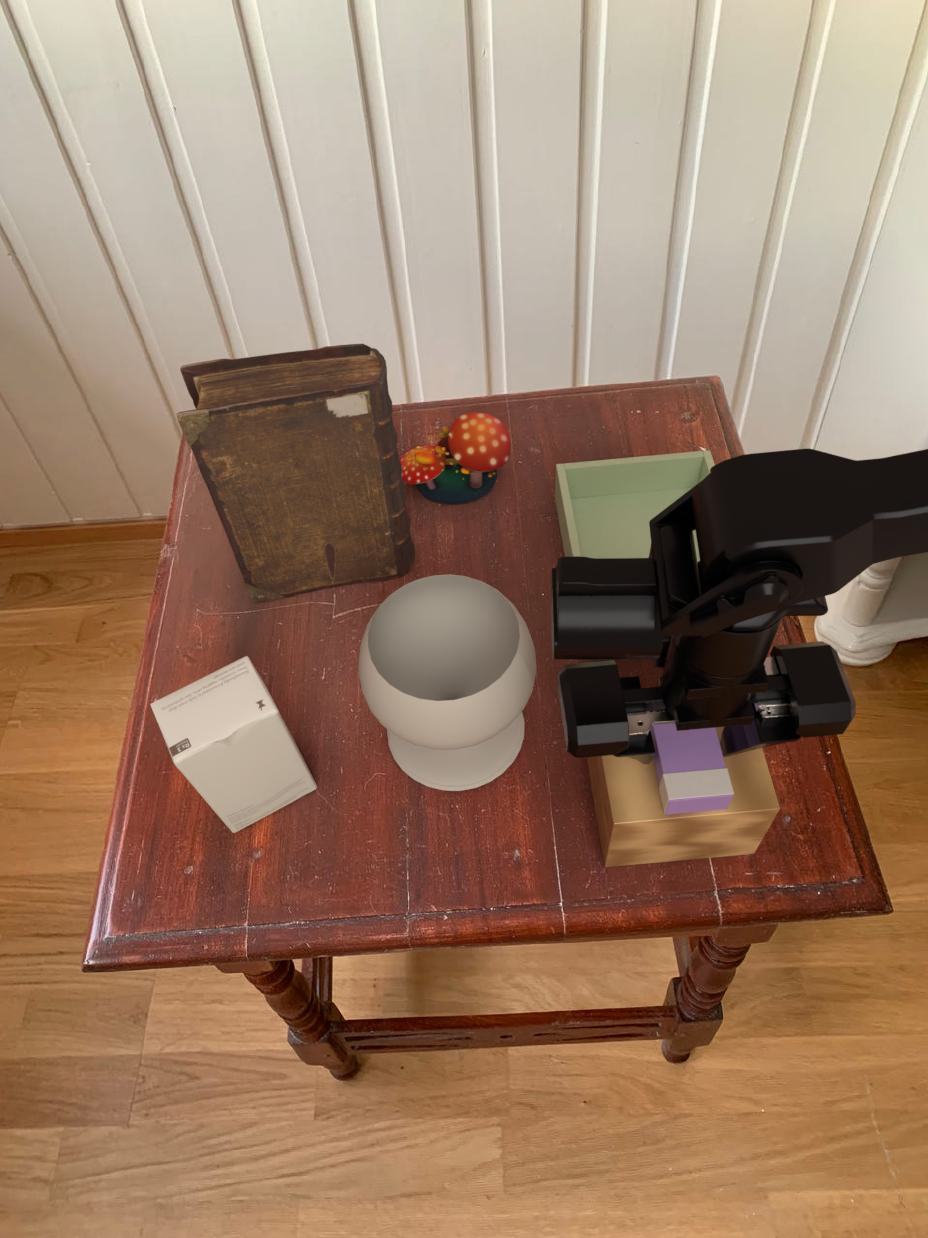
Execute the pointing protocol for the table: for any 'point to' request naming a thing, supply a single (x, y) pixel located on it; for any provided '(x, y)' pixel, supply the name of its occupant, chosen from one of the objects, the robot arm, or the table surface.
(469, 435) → the figurine
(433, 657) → the chalice
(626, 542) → the tray
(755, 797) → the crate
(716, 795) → the chocolate bar
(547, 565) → the table surface
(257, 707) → the cosmetic box
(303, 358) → the book
